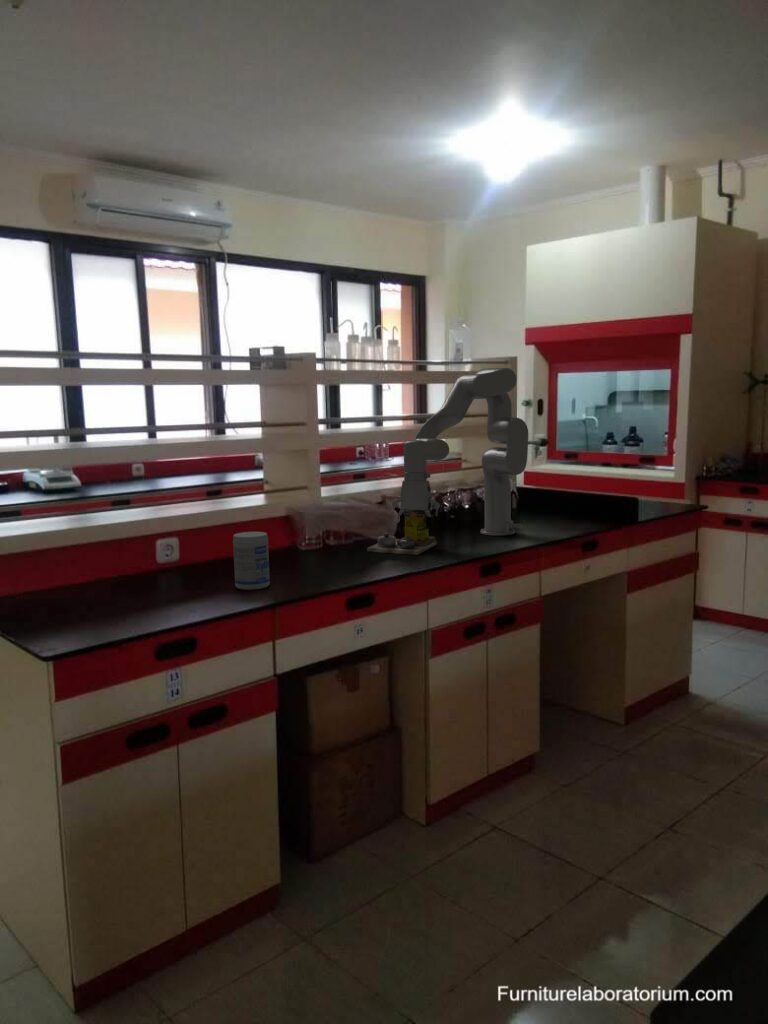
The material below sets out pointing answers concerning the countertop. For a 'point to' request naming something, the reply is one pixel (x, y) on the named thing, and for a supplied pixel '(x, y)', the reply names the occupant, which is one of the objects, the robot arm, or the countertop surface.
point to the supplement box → (416, 525)
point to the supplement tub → (251, 560)
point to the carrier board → (392, 545)
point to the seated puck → (406, 544)
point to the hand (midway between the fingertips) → (416, 527)
